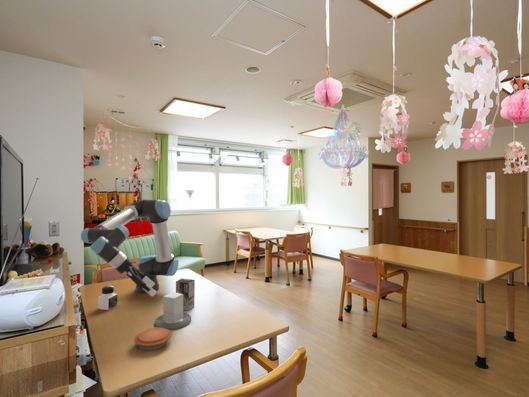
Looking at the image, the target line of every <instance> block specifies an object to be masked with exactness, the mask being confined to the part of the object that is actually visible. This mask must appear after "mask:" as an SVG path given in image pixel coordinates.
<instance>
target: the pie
mask: <svg viewBox="0 0 529 397" xmlns="http://www.w3.org/2000/svg"><path fill="white" fill-rule="evenodd" d="M172 336H173V332H172V330H168V329H165V328H157V327H151V328H147V329H145V330H143V331H141V332H139V333H138V334H136V336H135V337H134V343H135V344H136V345H137V346H138V348H139V349H141V350H142V351H145V352H146V351H147V352H149V351H156V350H159V349H161V348H164V347H165V346H166V345H167V343H168V341H170V339H171V338H172Z"/></svg>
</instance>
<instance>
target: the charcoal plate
mask: <svg viewBox="0 0 529 397" xmlns="http://www.w3.org/2000/svg"><path fill="white" fill-rule="evenodd" d="M191 322H192V316H191V314H189V313H186V312H183V318H182V319H180V320H178V321H176V322H174V323H172V322H168V321H164V320H163V314H162V315H159V316H158V317H157V318H155V321H154V325H155V328H165V329H168V330H170V331H172V330H171V329H174V330H177V329H178V328H179V329H181V328H185V327H187V326H188V325H189V324H190V323H191ZM186 325H187V326H186ZM184 326H185V327H184Z"/></svg>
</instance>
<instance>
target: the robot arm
mask: <svg viewBox="0 0 529 397" xmlns="http://www.w3.org/2000/svg"><path fill="white" fill-rule="evenodd" d="M171 212H172V210H171V205H170V203H169V202H168V201H166V200H163V199H139V200H137V201H134V202H132V203H130V204H128V205H126V206H125V207H124V208H123V210H121V211H119V212H118V213H116V214H115V215H113V216H111V217H110V218H108V219H106V220H105V221H103V222H101V223H99V224H98V225H96V226H94V227H93V228H91V227H86V228H85V229H82V231H81V233H80V240H81V241H82V242H83V243H86V244H90V250H91V251H92V252H93V253H95V254H94V255H97V256H99V258H100V259H102V260H103V261H104V262H106V263H107V264H108V267H112V268H113V269H115V270H116V271H117V272H118V273H119V274H121V275H122V274H123V273H126V276H127V277H128V278H129V279H131V280H132V281H133V282H134V284H135V292H136V293H139V294H148V295H149V296H151V297H154V296H155V294H156V293H157V291H159V290H160V283H159V280H158V278H157V277H158V276H165V277H173V276H175V275H176V273H178V272H177V271H178V268H179V259H177V257H176V258H175V255H174V253H172V251H171V243H170V238H169V231H168V225H167V224H168V223H167V221H168V220H169V218H170V217H171ZM143 218H144V219H147V220H148V223H149V224H151V225H152V231H153V237H154V242H155V248H156V253H157V254H149V255H144V256H141V257H139V259H138V268H137V267H136V266H134V265H133V260H132V259H130V258H129V257H127V255H126V254H125V253H124V252H123V251H121V250H120V249H119V247H120V246H121V245H122V244H123V242H125V241H126V240H127V238H128V237H129V235H130V232H129V229H128V228H127V227H126V226H125V225H127V224H128V223H129V222H131V221H135V220H137V219H143Z"/></svg>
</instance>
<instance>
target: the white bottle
mask: <svg viewBox="0 0 529 397" xmlns="http://www.w3.org/2000/svg"><path fill="white" fill-rule="evenodd" d="M97 300H98V301H97V309H98V310H105V311H110V310H111V309H114V308H115V307H117V306H118V293H115V287H114V286H112V285H106V286H103V287H102V288H101V295H99V296H98V297H97Z"/></svg>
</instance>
